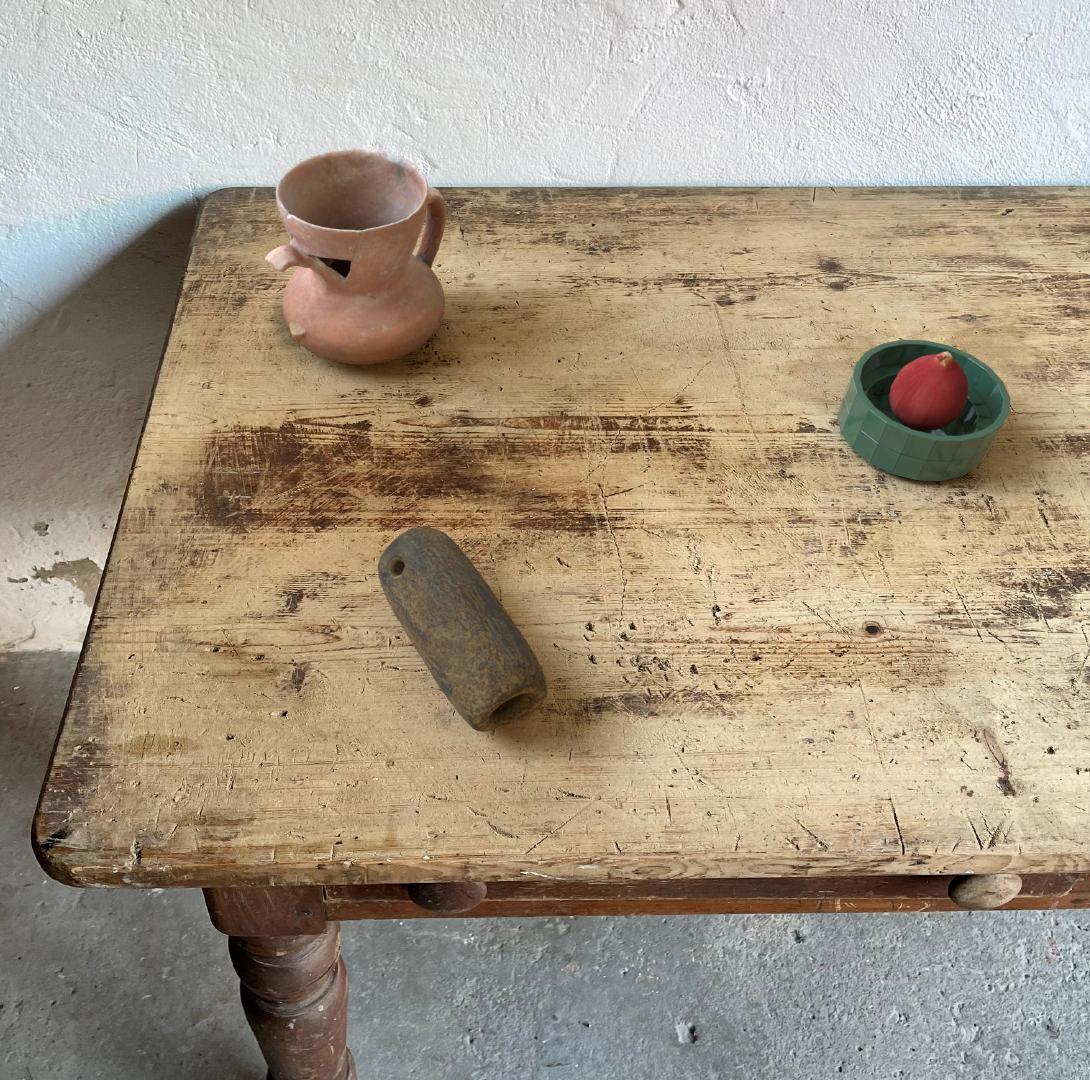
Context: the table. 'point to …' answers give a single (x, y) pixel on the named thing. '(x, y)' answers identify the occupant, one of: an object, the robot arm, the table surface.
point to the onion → (929, 392)
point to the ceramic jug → (360, 255)
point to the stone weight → (461, 630)
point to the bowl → (910, 450)
